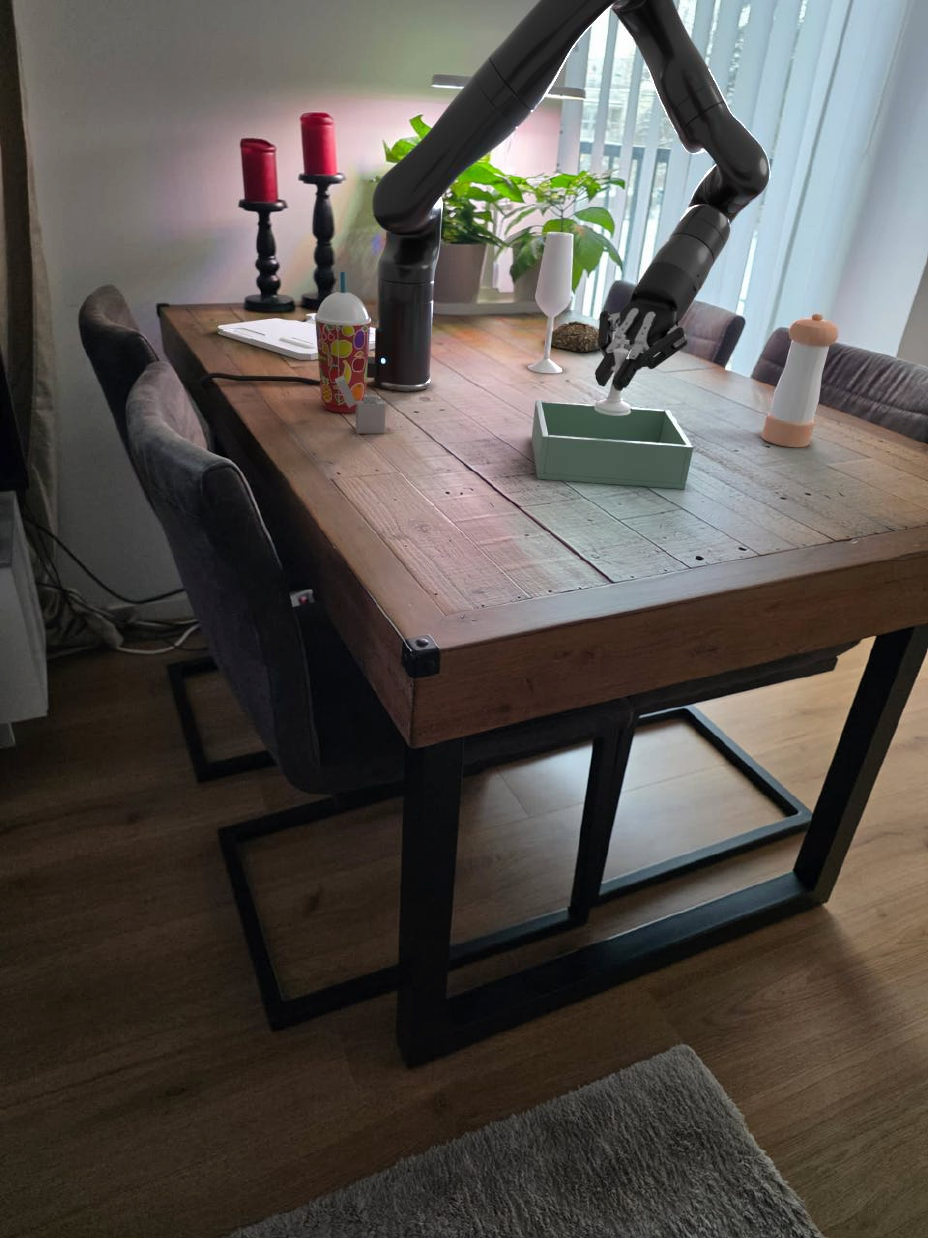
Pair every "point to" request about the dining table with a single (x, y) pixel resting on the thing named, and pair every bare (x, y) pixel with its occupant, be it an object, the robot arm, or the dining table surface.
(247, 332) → the tray
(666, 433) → the open box
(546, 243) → the champagne flute
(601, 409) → the chess piece
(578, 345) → the bread roll
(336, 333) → the smoothie
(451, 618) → the dining table surface
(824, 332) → the pepper shaker
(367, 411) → the lighter
